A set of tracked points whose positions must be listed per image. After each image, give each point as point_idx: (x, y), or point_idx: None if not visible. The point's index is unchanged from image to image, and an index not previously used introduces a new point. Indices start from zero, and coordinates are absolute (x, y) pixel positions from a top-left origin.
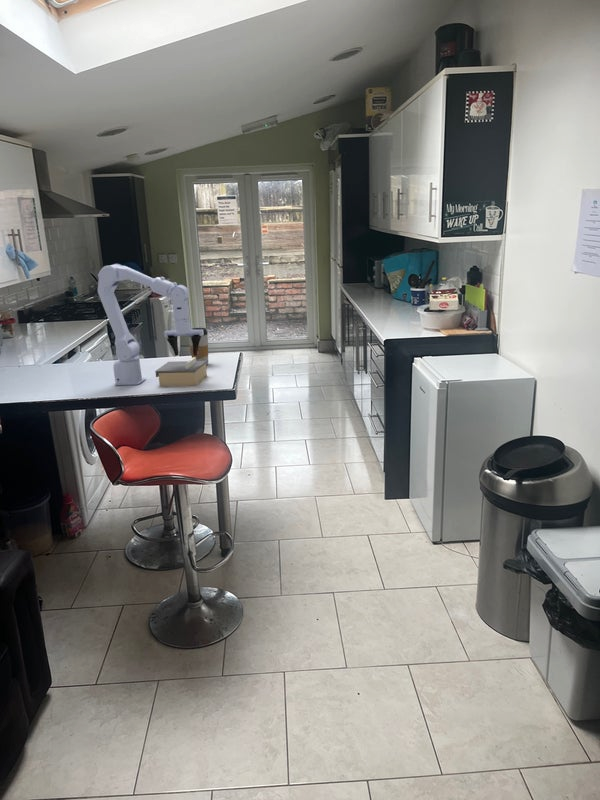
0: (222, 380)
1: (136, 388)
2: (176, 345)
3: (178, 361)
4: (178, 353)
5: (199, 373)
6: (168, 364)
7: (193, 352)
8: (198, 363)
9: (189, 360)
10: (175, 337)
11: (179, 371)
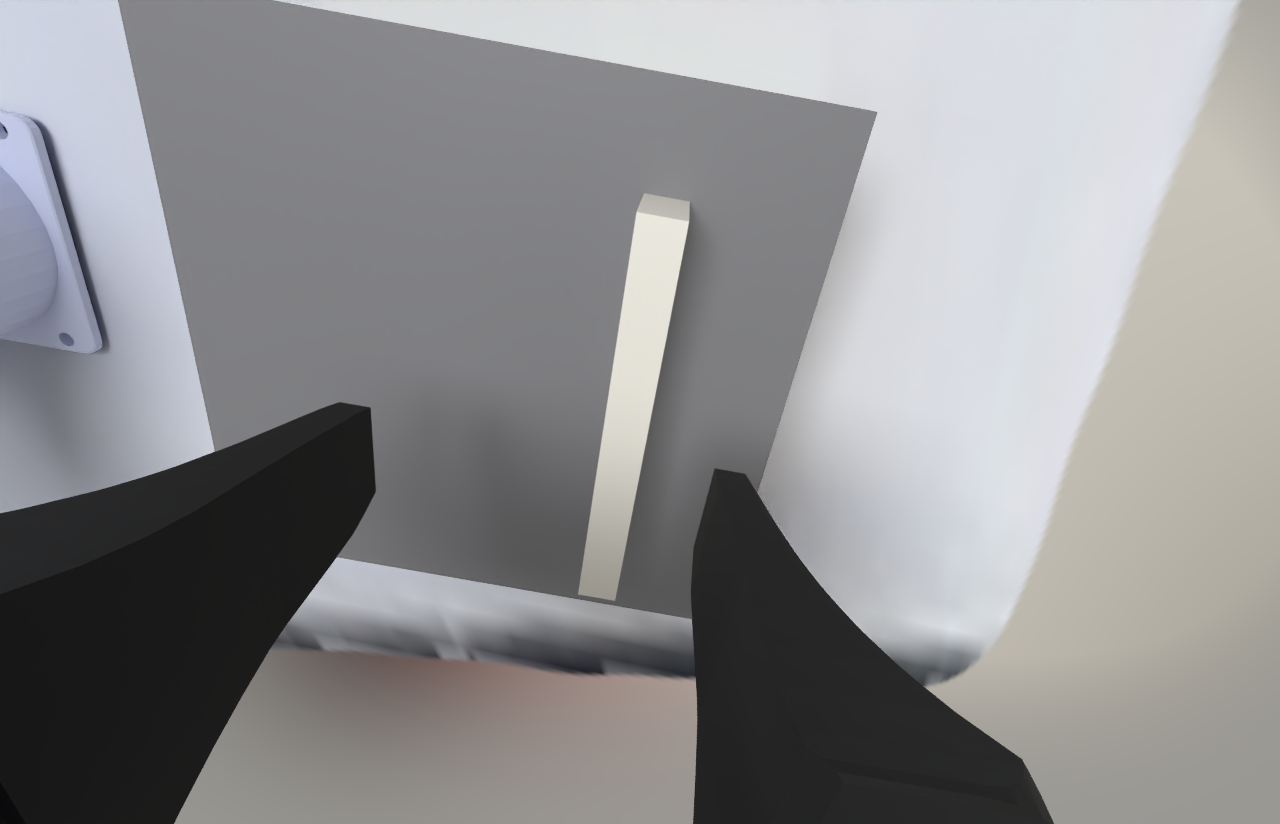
0: (977, 387)
1: (165, 454)
2: (241, 563)
3: (319, 18)
4: (358, 416)
5: None
6: (236, 234)
7: (691, 603)
8: (733, 300)
9: (606, 448)
10: (50, 785)
11: (529, 580)
